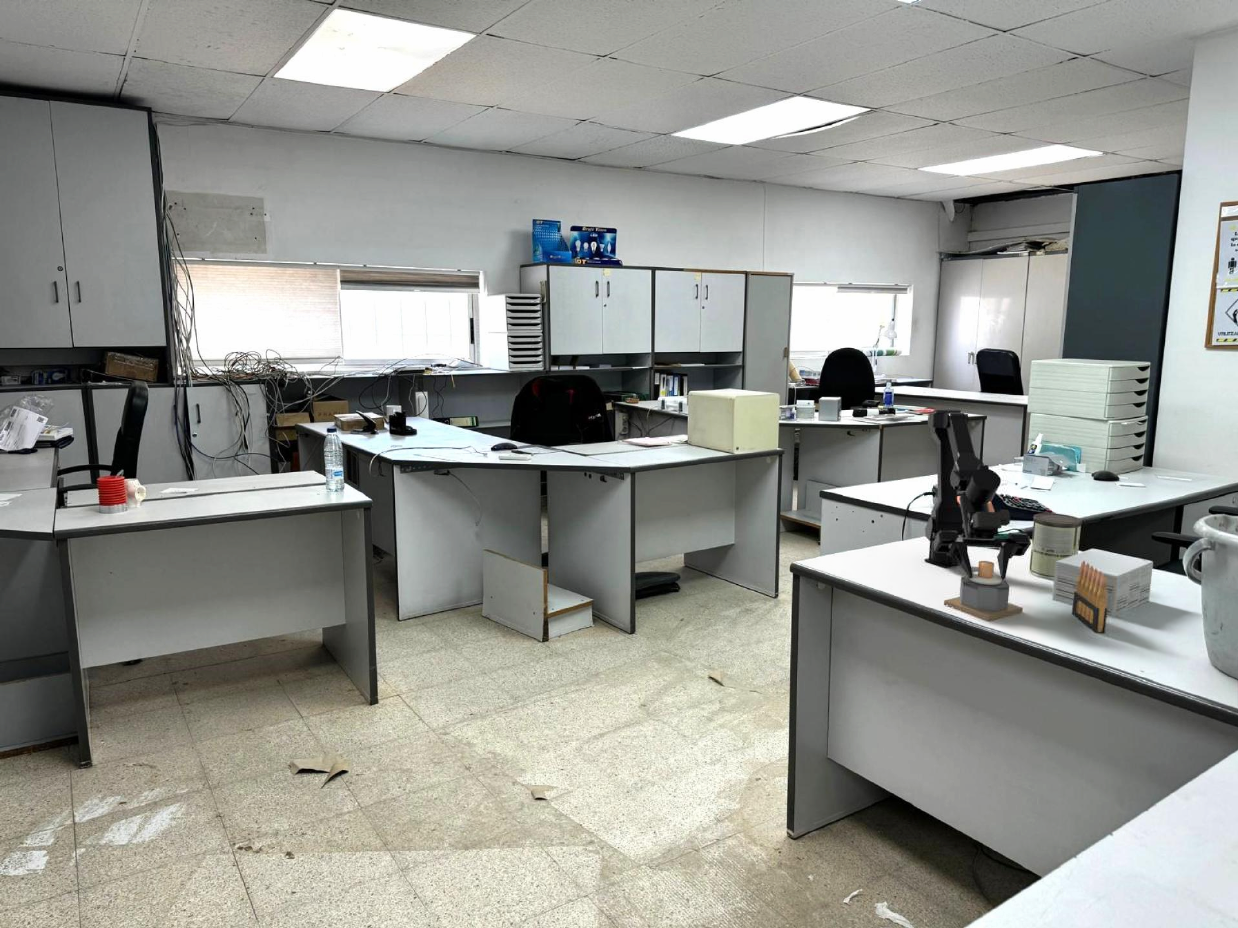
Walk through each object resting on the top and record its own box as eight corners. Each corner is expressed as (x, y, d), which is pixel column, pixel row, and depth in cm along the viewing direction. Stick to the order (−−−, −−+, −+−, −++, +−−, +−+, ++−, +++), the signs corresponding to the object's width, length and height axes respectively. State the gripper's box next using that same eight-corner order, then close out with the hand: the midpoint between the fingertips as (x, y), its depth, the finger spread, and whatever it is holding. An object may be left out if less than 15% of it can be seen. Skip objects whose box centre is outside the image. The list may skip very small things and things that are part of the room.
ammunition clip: (1105, 633, 162) (1111, 575, 160) (1095, 633, 162) (1101, 574, 160) (1080, 614, 172) (1086, 559, 170) (1071, 613, 173) (1077, 559, 170)
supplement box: (1087, 586, 191) (1091, 547, 189) (1149, 602, 180) (1154, 561, 179) (1050, 600, 181) (1054, 559, 180) (1113, 618, 171) (1118, 575, 169)
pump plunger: (960, 599, 177) (963, 561, 175) (980, 595, 180) (983, 557, 178) (986, 609, 171) (989, 569, 170) (1006, 604, 174) (1009, 564, 173)
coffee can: (1021, 567, 205) (1026, 512, 202) (1065, 568, 204) (1070, 513, 201) (1038, 580, 195) (1044, 522, 192) (1084, 581, 194) (1090, 523, 191)
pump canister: (943, 604, 178) (945, 578, 177) (977, 596, 183) (980, 570, 182) (987, 620, 168) (990, 593, 167) (1022, 612, 174) (1024, 584, 172)
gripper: (940, 494, 176) (950, 558, 168) (1032, 496, 174) (1046, 561, 165) (929, 520, 186) (938, 582, 177) (1016, 523, 183) (1029, 586, 174)
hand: (987, 578), depth 173 cm, fingers closed on pump plunger, 6 cm apart
